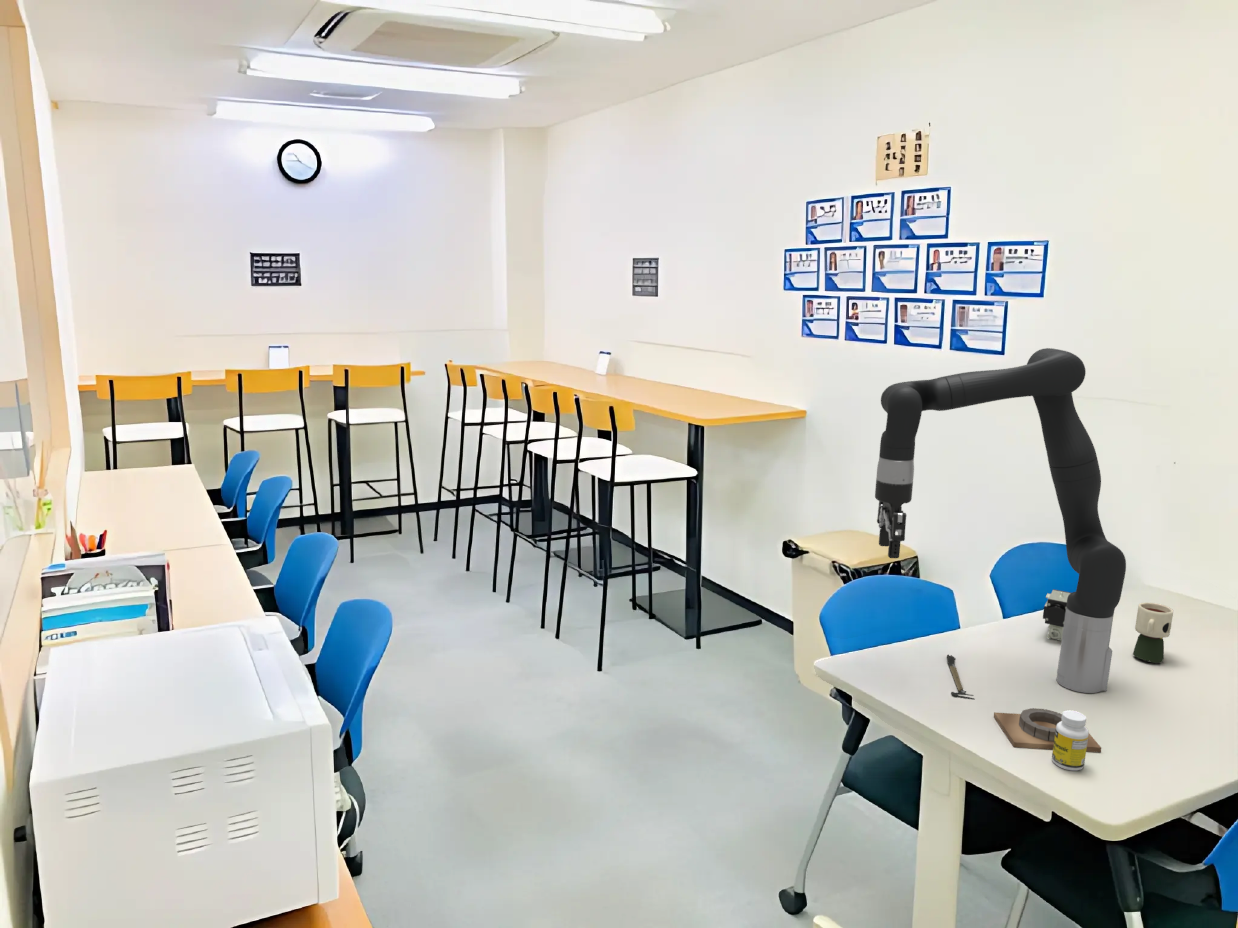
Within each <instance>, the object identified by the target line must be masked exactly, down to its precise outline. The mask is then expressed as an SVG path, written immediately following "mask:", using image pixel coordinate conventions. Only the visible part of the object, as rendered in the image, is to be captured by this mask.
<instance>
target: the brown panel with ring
mask: <svg viewBox="0 0 1238 928" xmlns="http://www.w3.org/2000/svg"><path fill="white" fill-rule="evenodd" d="M1061 717H1062V713H1060V712H1057V711H1053V710H1050V709H1047V708H1046V709H1045V708H1036V707H1035V708H1034V707H1032V708H1027V709H1023V710H1021V713H1014V712H1013V713H1010V712H1008V713H1007V712H993V718H994V720H995V721H996V723H997V725H999V727H1000V728H1001V730H1002V732H1003V733H1004V735H1005V736H1006V737H1007V739H1008V740H1009V743H1010V744H1011V746H1012V747H1013V748H1020V749H1021V748H1023V749H1038V750H1040V749H1041V750H1053V746H1054V739H1055V731H1056V726H1057V724H1058V723H1059V722H1061V721H1062V720H1061ZM1101 751H1102V746H1101V745H1100V744H1099V743H1098V742H1097V741H1096V739H1095V738H1094V737H1093V736H1092V735H1091V733H1089V734H1088V742H1087V749H1086V753H1087V752H1088V753H1101Z"/></svg>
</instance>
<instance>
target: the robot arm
mask: <svg viewBox="0 0 1238 928" xmlns="http://www.w3.org/2000/svg"><path fill="white" fill-rule="evenodd" d="M1086 374H1087V373H1086V366H1085V364H1084V362H1083V361H1082V359H1081V358H1080V357H1079V356H1077V355H1076V354H1074V353H1073V352H1070V351H1067V350H1063V349H1056V348H1052V347H1051V348H1049V347H1046V348H1041V349H1039V350H1037V351H1035V352H1034V353H1032V354H1031V356H1030V357H1029V359H1028V361H1027V363H1026V364H1024V365H1020V366H1014V367H1009V368H1000V369H990V370H989V369H988V370H976V371H975V370H974V371H967V372H960V373H959V372H958V373H955V374H950V375H944V376H939V377H935V378H931V379H921V380H918V379H917V380H910V381H901V382H897V383H896V382H895V383H893V384H891V385H889V386H888V387H886V388H885V389H884V390H883V392H882V394H881V396H880V405H881V407H882V409H883V410H884V412H886V414H887V415H886V425H885V430H884V431H883V432H882V434H881V437H880V443H879V457H878V462H877V466H876V467H877V468H876V477H875V490H874V497H875V499H876V501H878V508H877V509H878V510H877V517H876V518H877V519H876V522H877V524H878V528H879V535H878V537H879V538H878V545H879V546H880V547H888V551H887V556H888V558H889V559H899V558H900V554H901V553H900V551H901V542H905V540H906V537H905V536H906V524H907V523H906V522H907V513H906V512H904V510H903V509H902V505H904V504H909V503H910V502H912V498H913V497H912V496H913V485H914V477H915V476H914V475H915V461H914V460H915V459H914V458H915V449H916V438H917V437H916V436H917V433H918V429H919V427H920V422H921V419H922V412H925V411H935V412H936V411H937V412H943V411H950V410H956V409H961V408H964V407H965V408H966V407H969V406H977V405H981V404H985V403H990V402H996V401H1001V400H1007V399H1016V398H1025V397H1032V398H1033V401H1034V403H1035V407H1036V410H1037V414H1038V416H1039V421H1040V425H1041V430H1042V431H1041V432H1042V437H1043V441H1044V445H1045V450H1046V456H1047V461H1048V466H1049V472H1050V474H1051V479H1052V483H1053V486H1054V490H1055V494H1056V499H1057V502H1058V506H1059V510H1060V513H1061V517H1062V521H1063V528H1064V529H1063V530H1064V537H1065V548H1066V555H1067V560H1068V563H1069V565H1070V567H1071V568H1072V569H1073V570H1074V571H1075V572H1076V573H1077V574H1078V580H1077V584H1076V585H1077V586H1076V590H1075V591H1073V592H1070V594H1069V596H1068V598H1067V605H1066V613H1065V620H1064V627H1063V635H1062V641H1060V642H1061V644H1060V651H1059V656H1058V657H1059V658H1058V662H1057V663H1058V665H1057V670H1056V681H1057V683H1058V684H1059V685H1061V686H1062V687H1063V688H1066V689H1067V690H1068V689H1069V690H1072V691H1073V692H1077V693H1078V692H1079V693H1084V694H1096V693H1100V692H1107V690H1108V684H1109V677H1110V670H1111V665H1112V664H1111V663H1112V657H1113V650H1112V648H1111V647H1110V641H1111V634H1112V629H1113V628H1112V627H1113V622H1114V621H1113V620H1114V616H1115V615H1114V614H1115V609H1116V607H1117V606H1118V605H1119V603H1120V600H1121V597H1122V592H1123V586H1124V581H1125V578H1126V571H1127V562H1126V561H1127V560H1126V556H1125V554H1124V552H1123V551H1122V550H1121V549H1120V548H1119V547H1118V546H1117V545H1115V544H1113V543H1112V542H1110V541H1109V540H1108V539H1107V538H1106V535H1105V533H1104V529H1103V526H1102V523H1101V519H1100V515H1099V514H1100V513H1099V507H1098V506H1099V498H1100V494H1101V493H1100V492H1101V487H1102V476H1101V469H1100V464H1099V460H1098V457H1097V455H1098V454H1097V453H1096V447H1095V445H1094V443H1093V441H1092V438H1091V437H1090V435H1089V433H1088V431H1087V429H1086V427H1085V426H1084V424H1083V422H1082V420H1081V418H1080V417H1079V414H1078V412H1077V410H1076V406H1075V403H1074V399H1073V393H1074V391H1077V389H1079V388H1080V386H1081V385H1083V382H1084V380H1085V379H1086ZM896 533H897V534H896Z"/></svg>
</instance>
